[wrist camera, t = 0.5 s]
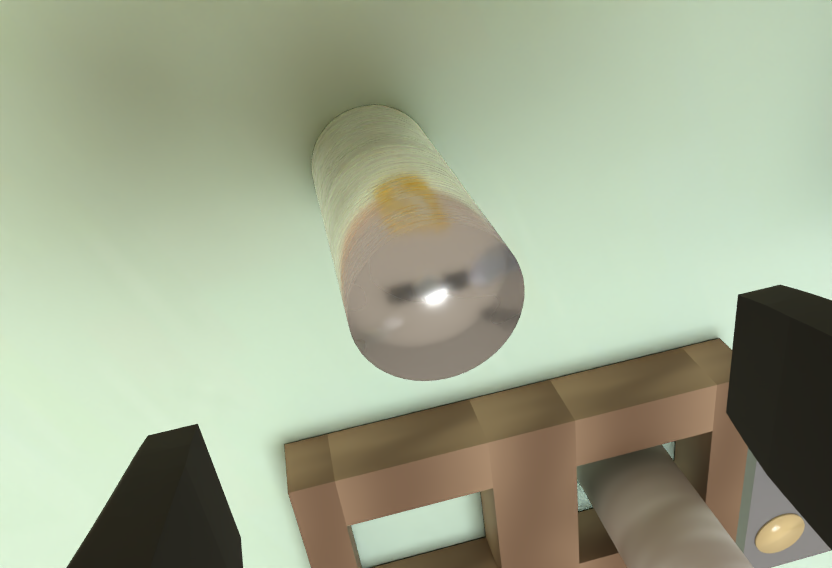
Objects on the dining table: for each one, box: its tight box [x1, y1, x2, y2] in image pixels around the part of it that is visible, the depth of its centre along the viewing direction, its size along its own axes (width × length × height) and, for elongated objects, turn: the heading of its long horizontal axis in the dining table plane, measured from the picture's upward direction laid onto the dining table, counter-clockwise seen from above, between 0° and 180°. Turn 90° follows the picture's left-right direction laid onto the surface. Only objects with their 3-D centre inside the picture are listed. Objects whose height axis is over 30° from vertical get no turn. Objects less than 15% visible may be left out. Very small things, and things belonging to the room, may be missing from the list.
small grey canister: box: [311, 105, 524, 381], centre depth 15 cm, size 3×3×7 cm
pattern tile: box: [735, 448, 831, 568], centre depth 27 cm, size 6×8×1 cm
